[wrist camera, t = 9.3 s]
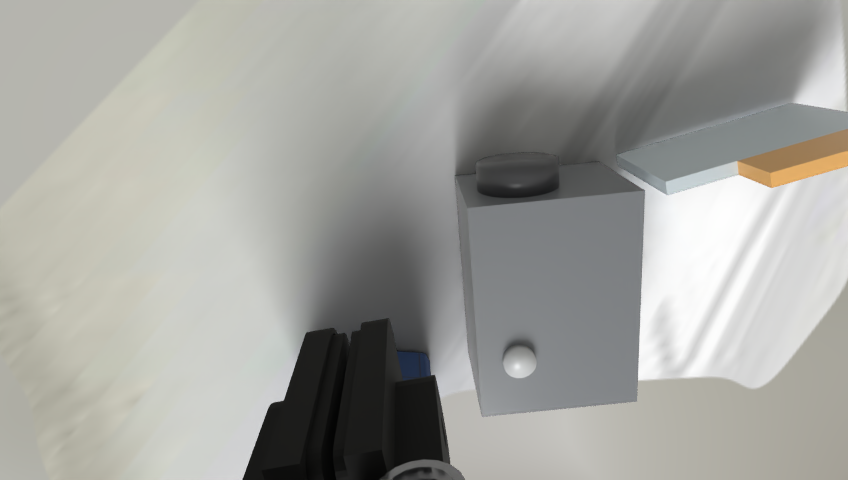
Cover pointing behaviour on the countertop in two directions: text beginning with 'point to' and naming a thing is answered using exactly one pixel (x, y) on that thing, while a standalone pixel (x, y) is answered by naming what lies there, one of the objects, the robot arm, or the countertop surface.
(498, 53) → the countertop surface
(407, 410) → the robot arm
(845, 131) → the side door
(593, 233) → the camera case
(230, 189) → the countertop surface
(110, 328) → the countertop surface
